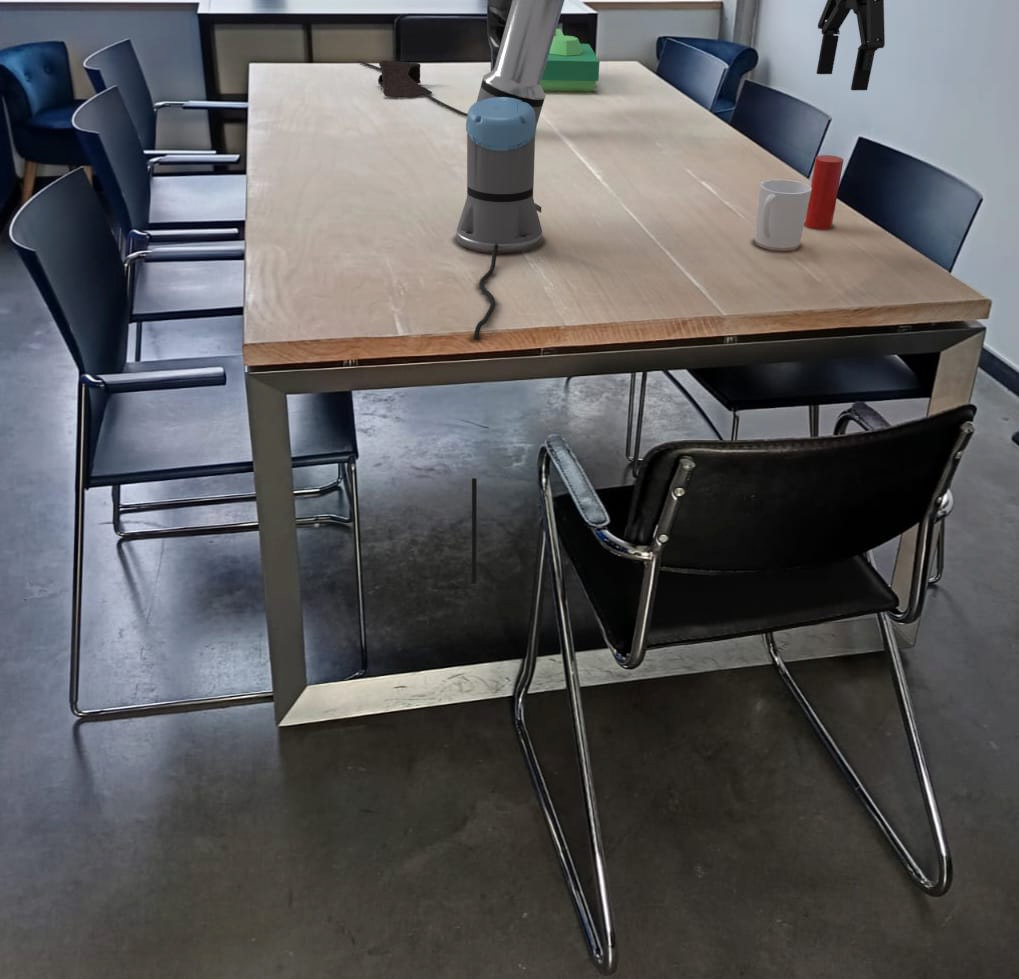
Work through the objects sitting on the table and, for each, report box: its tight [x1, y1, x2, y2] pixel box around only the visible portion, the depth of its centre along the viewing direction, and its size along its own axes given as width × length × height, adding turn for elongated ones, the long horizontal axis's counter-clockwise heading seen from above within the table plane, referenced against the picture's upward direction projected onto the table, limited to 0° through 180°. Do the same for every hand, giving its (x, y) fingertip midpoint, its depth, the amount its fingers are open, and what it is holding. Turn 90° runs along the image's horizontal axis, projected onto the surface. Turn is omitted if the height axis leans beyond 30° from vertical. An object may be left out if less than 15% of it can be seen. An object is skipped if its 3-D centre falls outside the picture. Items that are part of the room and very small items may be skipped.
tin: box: [804, 154, 844, 230], centre depth 204 cm, size 5×5×12 cm
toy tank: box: [540, 28, 601, 92], centre depth 313 cm, size 18×12×35 cm
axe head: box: [377, 59, 433, 99], centre depth 299 cm, size 18×8×15 cm
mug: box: [754, 178, 812, 252], centre depth 194 cm, size 11×9×10 cm
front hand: (840, 81), depth 193 cm, fingers open, 13 cm apart
